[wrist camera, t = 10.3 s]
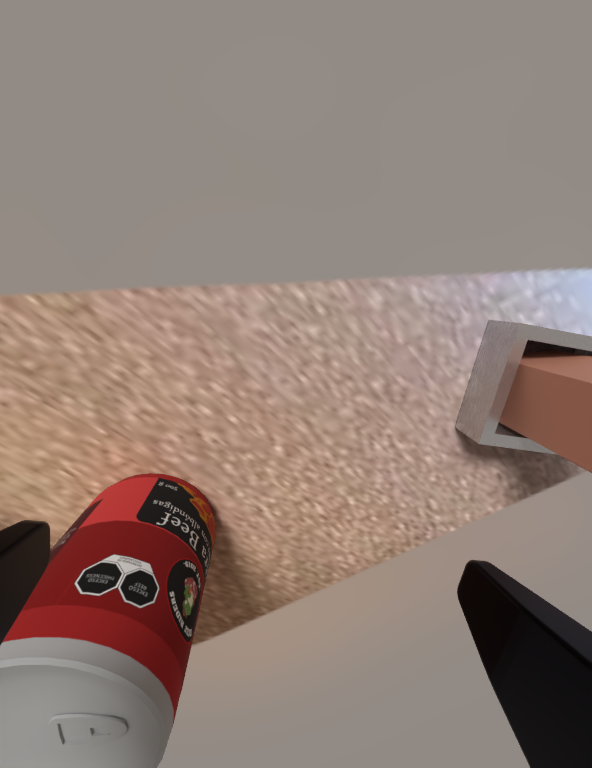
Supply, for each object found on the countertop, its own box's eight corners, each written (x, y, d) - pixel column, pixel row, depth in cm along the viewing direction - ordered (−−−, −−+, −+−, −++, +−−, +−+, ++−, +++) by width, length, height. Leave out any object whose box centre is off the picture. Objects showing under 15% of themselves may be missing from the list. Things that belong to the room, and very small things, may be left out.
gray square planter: (454, 427, 21) (478, 444, 19) (488, 319, 19) (520, 323, 17) (549, 440, 22) (584, 458, 20) (590, 338, 20) (633, 344, 18)
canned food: (232, 550, 22) (199, 780, 12) (121, 581, 22) (-15, 842, 12) (195, 453, 20) (113, 628, 10) (71, 488, 20) (-149, 702, 10)
